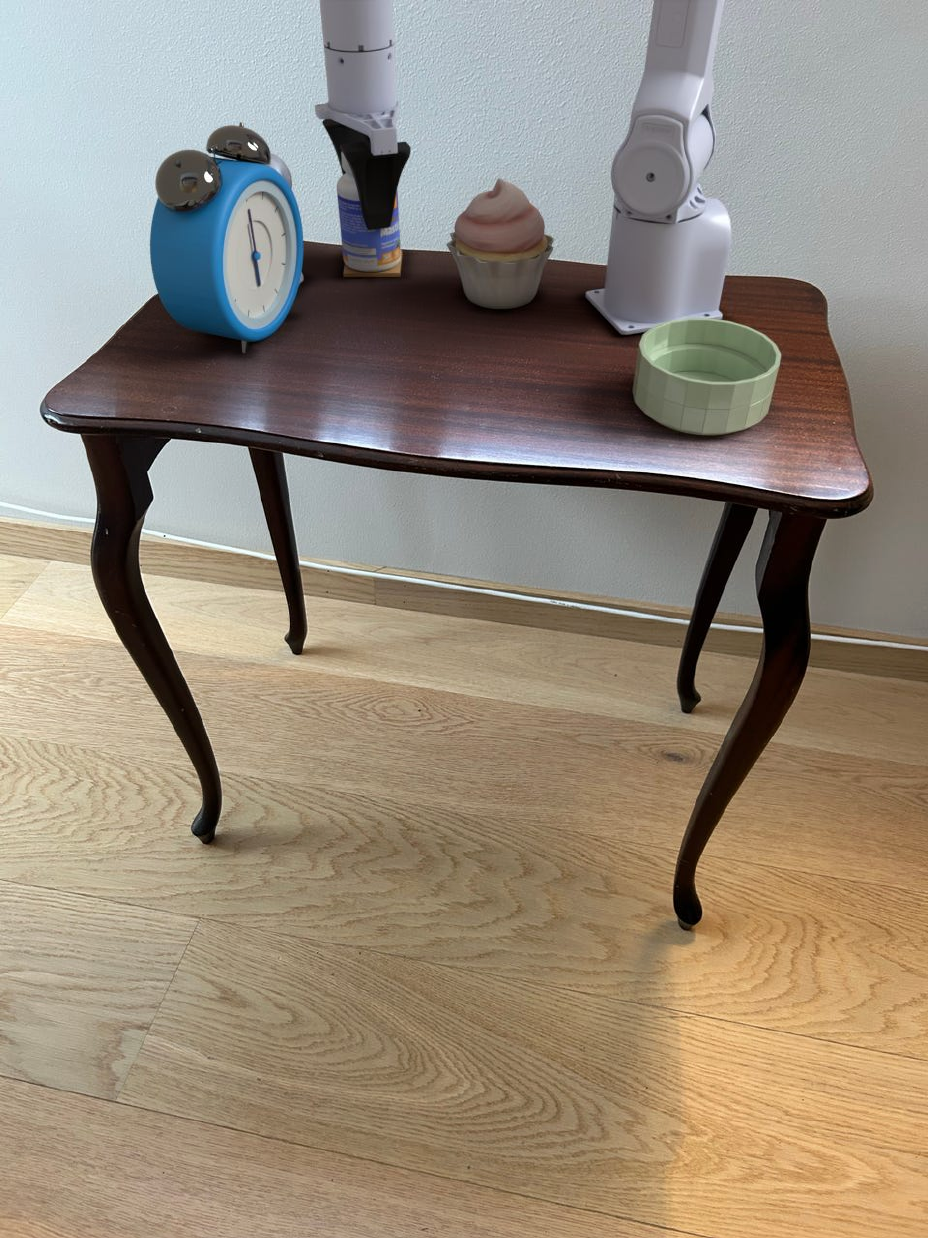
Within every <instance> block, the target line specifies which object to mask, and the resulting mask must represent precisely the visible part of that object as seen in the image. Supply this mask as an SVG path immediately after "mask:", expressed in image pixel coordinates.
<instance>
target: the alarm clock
mask: <svg viewBox="0 0 928 1238" xmlns="http://www.w3.org/2000/svg"><path fill="white" fill-rule="evenodd" d="M244 125H245V123H244V122H242V121H241V122H239V124H238V125H234V124H230V125H223V126H220V127H218V128H216V129H214V131H212V132H211V134H210V135H209V136H208V138H207V140H206V143H205V151H206V152H207V153H205V152H203V151H200V150H197V149H190V148H189V149H182V150H177V151H175V152H173V153H171V154H170V155H168V156H167V157H166V158H165V159H164V160H163V161H161V164H160V165H159V167H158V168H157V171H156V175H155V179H154V185H155V192H156V195H157V199H156V202H155V205H154V209H153V214H152V219H151V223H150V224H151V225H150V235H149V257H150V266H151V273H152V277H153V278H152V279H153V282H154V285H155V288H156V291H157V294H158V296H159V299H160V301H161V303H162V305H163V306H164V308H165V310H166V312H167V313H168V314H169V315H170V316H171V317H172V319H173V320H174V321H175V322H176V323H178V324H179V325H180V326H182V327H183V328H185V329H188V330H191V331H193V332H194V331H195V332H199V333H204V334H209V335H212V336H213V335H215V336H217V337H218V336H219V337H224V338H227V339H233V340H238V341H241V351H242V352H241V353H243V354H247V352H248V349H249V344H250V343H252V342H254V343H255V342H260V341H263V340H265V339H267V338H268V337H270V336H271V335H273V334H274V333H275V332H276V331H277V330H278V329H279V328H280V327H281V325H283V323H284V321H285V320H286V318H288V316H289V313H290V311H291V309H292V307H293V304H294V301H295V299H296V296H297V293H298V289H299V287H300V285H299V282H300V277H301V272H302V271H303V262H304V231H303V222H302V217H301V212H300V208H299V205H298V202H297V199H296V196H295V194H294V192H293V190H292V189H293V188H292V189H291V187H290V186H289V184H288V183H287V181H286V180H285V179H284V177H283V176H282V175H281V174H280V173H279V172H278V171H276V170H275V169H273V168H271V167H269V166H267V165H270V164H271V153H272V152H271V149H270V146H269V145H268V143H267V141H266V140H265V138H263V136H261V134H259V133H257V132H256V131H255V130H253V129H251V128H248V127H245V126H244ZM208 154H212V155H213V156H210V155H208ZM217 156H218V157H217ZM223 158H229V159H223ZM230 159H233V160H230Z"/></svg>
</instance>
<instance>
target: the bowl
mask: <svg viewBox="0 0 928 1238" xmlns="http://www.w3.org/2000/svg"><path fill="white" fill-rule="evenodd" d="M637 348H638V349H637V355H636V363H635V369H634V370H635V372H634V377H633V384H632V395H633V401H634V403H635V405H636V406H637V407H638V408H639V409H640V410H641V412H642V413H643V414H644V415H646V416H648V417H649V418H651V419H653V420H654V421H655V422H656V423H658V424H660V425H662V426H663V427H666V428H668V429H671V430H674V431H676V432H681V433H684V434H689V435H694V436H695V435H696V436H722V435H728V434H733V433H737V432H739V431H744V430H747V429H748V428H751V427H753V426H755V425H758V423H760V422H761V421H762V420H763V419H764V418H765V417H766V416H767V415H768V413H769V410H770V405H771V402H772V397H773V394H774V390H775V387H776V386H775V385H776V382H777V377H778V373H779V370H780V365H781V360H782V353H781V351H780V349H779V347H778V345H777V344H776V343H775V342H774V341H773V340H772V339H771V338H770V337H768V336H767V335H766V334H764V333H762V332H760V331H758V330H756V329H754V328H752V327H750V326H748V325H744V324H741V323H737V322H734V321H730V320H725V319H721V320H718V319H711V318H684V319H678V320H671V321H667V322H664V323H661V324H659V325H656V326H653V327H652V328H651V329H649V330H648V331H647V332H643V334H642V335H641V338H640V341H639V343H638V347H637Z"/></svg>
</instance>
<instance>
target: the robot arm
mask: <svg viewBox="0 0 928 1238" xmlns="http://www.w3.org/2000/svg"><path fill="white" fill-rule="evenodd" d="M725 2H726V0H653V4H652V10H651V11H652V12H651V18H650V26H649V33H648V41H647V47H646V53H645V54H646V55H645V60H644V61H645V62H644V68H643V73H642V77H641V81H640V84H639V87H638V90H637V92H636V96H635V99H634V102H633V105H632V108H631V112H630V113H631V114H630V122H629V127H628V130H627V134H626V136H625V139H624V140H623V142H622V143H621V144H620V146H619V148H618V149H617V150H616V153H615V154H614V157H613V158H612V159H613V160H612V163H611V168H610V182H611V187H612V190H613V194H614V196H613V206H612V215H611V222H610V223H611V225H610V235H609V243H608V254H607V263H606V273H605V282H604V288H599V289H592V290H587V291H586V292H585V298H586V299H587V300H588V301H589V303H591V305H592V306H593V307H594V308H595V309H596V310H597V311H598V312H599V313H600V314H601V315H602V316H603V317H604V318H605V319H606V320H607V321H608V323H609V324H611V325H612V326H613V328H614V329H615V330H616V331H617V332H618V333H619V334H620V335H623V336H628V335H634V334H640V333H646V332H647V331H648V330H649V329H651V328H652V327H653V326H656V325H659V324H661V323H664V322H667V321H671V320H678V319H684V318H711V319H718V320H723V312H722V311H720V305H721V300H722V299H721V298H722V293H723V288H724V283H725V279H726V272H727V268H728V263H729V256H730V253H731V246H732V225H731V219H730V216H729V215H730V214H729V212H728V210H727V208H726V207H725V205H724V204H723V203H722V201H721V200H719V199H718V198H715V197H706V196H704V192H703V188H702V186H701V183H700V181H698V179H699V177H700V175H701V174H702V173H703V172H704V171H705V169H706V168H708V166H709V164H710V163H711V160H713V156H714V154H715V152H716V151H715V150H716V146H717V133H716V132H717V131H716V127H715V123H714V120H713V114H712V104H713V103H712V102H713V97H714V93H715V91H714V90H715V83H714V75H713V68H714V61H715V55H716V49H717V46H718V39H719V34H720V28H721V23H722V17H723V13H724V8H725V7H724V6H725ZM393 7H394V6H393V0H319V10H320V21H321V33H322V34H321V35H322V44H323V53H324V54H323V55H324V66H325V77H326V89H327V90H326V91H327V100H328V101H327V102H325V103H319V104H315V105H314V113H315V116H316V117H317V118H318V119H319V120H322V121H321V124H322V127H324V129H325V131H326V133H327V135H328V137H329V139H330V141H331V144H332V146H333V148H334V150H335V154H336V156H337V159H338V163H339V166H340V169H341V173H342V175H344V174H346V172H345V171H344V170H343V167H342V155H341V153H343V154H344V156H345V158H346V160H347V162H348V164H349V166H350V169H351V171H352V174H353V177H354V180H355V183H356V187H357V191H358V196H359V201H360V206H361V210H362V215H363V218H364V222H365V224H366V227H367V229H368V230H374V229H382V228H389V227H390V226H391V222H392V217H393V212H394V205H395V199H396V193H397V190H398V188H399V183H400V180H401V177H402V174H403V171H404V169H405V167H406V164H407V162H408V161H409V159H410V156H411V150H412V149H411V146H410V145H409V143H408V142H407V141H398V133H397V131H398V130H397V129H398V128H397V127H396V126H397V123H398V120H399V116H400V111H401V110H400V101H399V100H398V98H397V96H398V95H397V75H396V54H395V53H396V52H395V51H396V50H395V33H394V12H393V11H394V9H393Z"/></svg>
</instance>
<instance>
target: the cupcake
mask: <svg viewBox="0 0 928 1238" xmlns="http://www.w3.org/2000/svg"><path fill="white" fill-rule="evenodd" d="M545 230H546V226H545V220H544V217H543V215H542V213H541V212H540V210H539V209H538V208H537V207H536V206H535V205H533V204H532V203H531V202H530V200H529V198H528V197H527V195H526V194H525V192H524V191H523V190H522V189H520V188H519V187H518V186H516V185H515V184H513V183H511V182H509V181H506V180H504V179H503V178H501V177H499V178H497V180H496V182H495V184H494V186H493V187H492V190H486V191H484V192H483V191H482V192H480V193H478V194H477V195H475V196H474V197H473V198H472V199H471V201H470V203H469V204H468V206H467V207H466V208H465V210H464V211H463V212H462V213H461V214H459V215H458V216H457V218H456V220H455V222H454V231H453V232H450V233H449V236H450V238H451V240H450V241H449V242H447V243H446V247H447V248H448V249H447V250H449V252H450V254H451V256H452V257H453V259H454V261H455V263H456V266H457V269H458V273H459V276H460V280H461V283H462V289H463V293H464V295H465V296H466V298H467V300H468V301H469V302H471V303H472V304H475V305H476V306H478V307H481V308H482V307H483V308H485V309H486V308H487V309H493V310H494V309H495V310H508V309H509V310H510V309H516V308H520V307H522V306H525V305H527V304H529V303H530V302H532V301H533V300H534V298H535V296H536V294H537V292H538V289H539V285H540V282H541V278H542V275H543V272H544V267H545V266H546V264H547V262H548V260H549V258H550V256H551V254H552V253H553V251H554V246H553V243H554V242H555V238H554V237H553V236H552V235H548V234H546V233H545Z"/></svg>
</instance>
